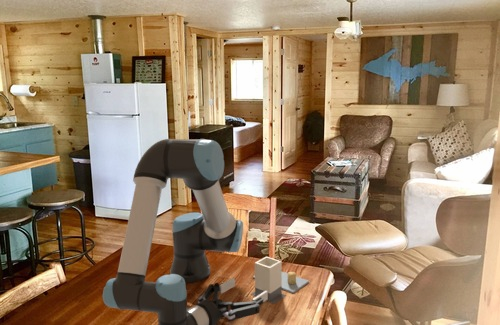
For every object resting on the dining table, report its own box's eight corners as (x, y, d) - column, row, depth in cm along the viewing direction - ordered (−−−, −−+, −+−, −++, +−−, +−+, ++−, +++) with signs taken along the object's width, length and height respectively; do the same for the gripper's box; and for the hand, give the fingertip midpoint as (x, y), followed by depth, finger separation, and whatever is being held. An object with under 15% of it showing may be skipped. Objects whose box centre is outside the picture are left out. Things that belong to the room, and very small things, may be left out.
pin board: (252, 279, 153) (252, 267, 153) (269, 269, 161) (269, 258, 160) (293, 295, 142) (293, 282, 141) (308, 283, 149) (309, 271, 148)
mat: (250, 295, 142) (250, 294, 142) (263, 287, 147) (263, 286, 147) (273, 305, 136) (273, 304, 135) (286, 297, 141) (286, 295, 141)
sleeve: (255, 295, 141) (254, 262, 138) (266, 288, 146) (266, 256, 143) (270, 301, 137) (269, 268, 134) (281, 294, 142) (281, 261, 139)
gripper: (173, 313, 126) (222, 286, 141) (234, 347, 110) (281, 312, 126) (171, 291, 124) (221, 266, 140) (233, 321, 108) (281, 289, 124)
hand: (250, 288), depth 133 cm, fingers open, 13 cm apart
